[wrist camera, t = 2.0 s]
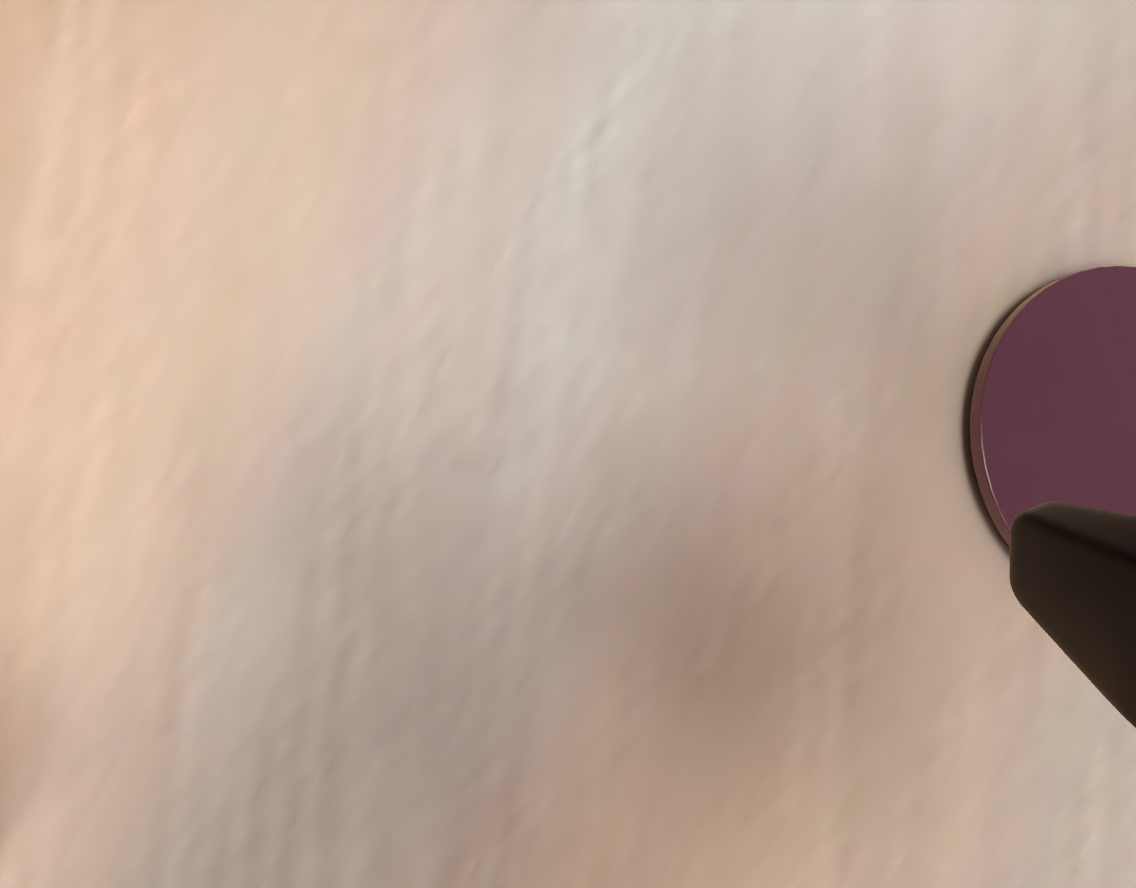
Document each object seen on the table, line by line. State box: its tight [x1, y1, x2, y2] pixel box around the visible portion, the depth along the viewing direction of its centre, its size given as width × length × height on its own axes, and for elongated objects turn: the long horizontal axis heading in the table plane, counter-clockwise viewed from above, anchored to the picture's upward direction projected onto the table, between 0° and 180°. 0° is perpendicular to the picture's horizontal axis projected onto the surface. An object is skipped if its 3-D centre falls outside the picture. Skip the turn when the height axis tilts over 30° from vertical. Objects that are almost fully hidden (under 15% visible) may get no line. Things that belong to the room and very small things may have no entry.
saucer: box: [970, 266, 1136, 547], centre depth 28 cm, size 10×10×1 cm
